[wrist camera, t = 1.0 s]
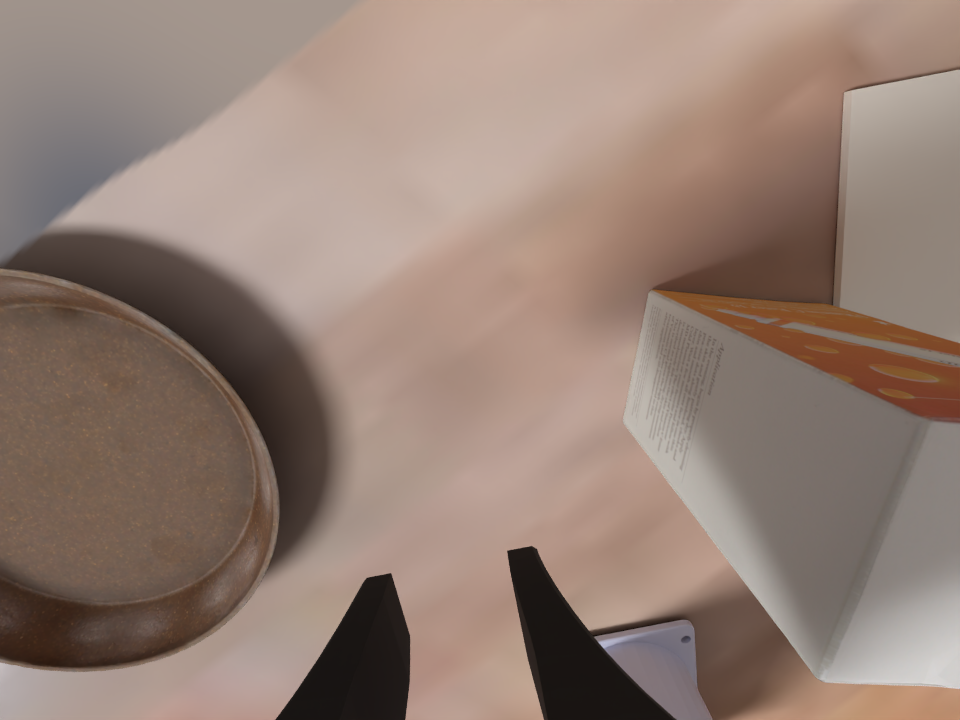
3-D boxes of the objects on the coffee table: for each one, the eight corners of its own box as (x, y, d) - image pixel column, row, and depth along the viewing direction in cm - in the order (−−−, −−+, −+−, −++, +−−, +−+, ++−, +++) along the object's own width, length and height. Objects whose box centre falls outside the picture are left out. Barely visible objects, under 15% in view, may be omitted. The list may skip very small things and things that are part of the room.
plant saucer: (-24, 155, 18) (-113, 148, 15) (376, 430, 22) (365, 466, 20) (-202, 490, 22) (-302, 536, 19) (172, 670, 26) (138, 729, 23)
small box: (826, 300, 21) (1340, 446, 9) (784, 433, 23) (1158, 701, 11) (644, 284, 21) (933, 418, 8) (617, 422, 23) (817, 696, 10)
